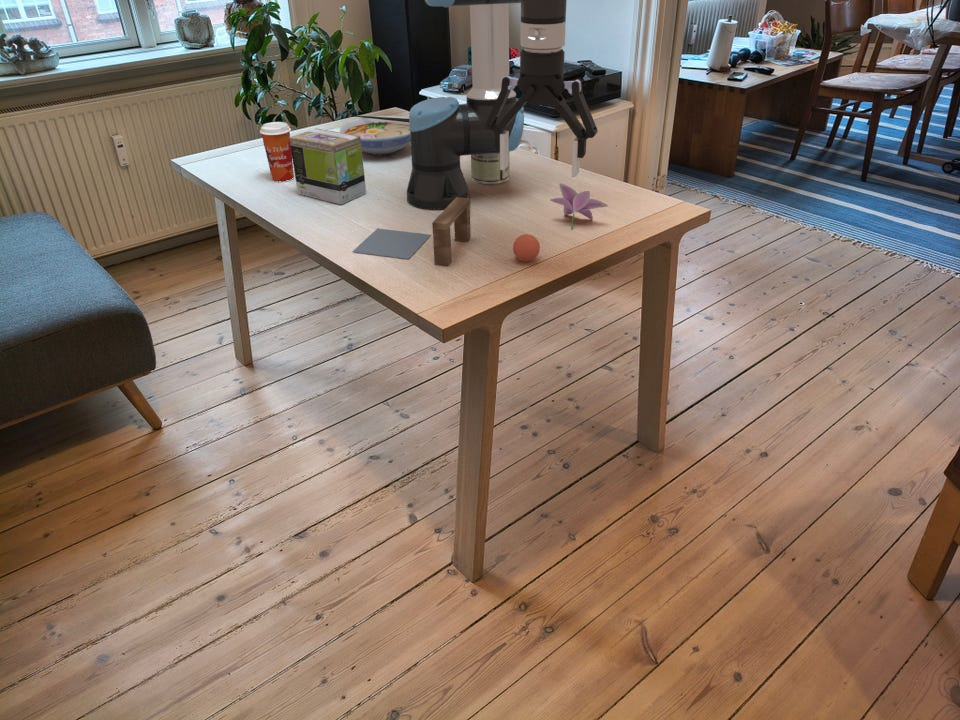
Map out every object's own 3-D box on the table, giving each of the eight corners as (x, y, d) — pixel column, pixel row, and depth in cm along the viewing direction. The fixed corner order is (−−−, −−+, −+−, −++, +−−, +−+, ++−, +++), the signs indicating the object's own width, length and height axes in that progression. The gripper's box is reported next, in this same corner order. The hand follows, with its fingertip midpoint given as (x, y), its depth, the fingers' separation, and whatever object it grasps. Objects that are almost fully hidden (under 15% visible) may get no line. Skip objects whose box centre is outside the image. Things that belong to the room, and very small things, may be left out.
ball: (516, 253, 158) (517, 228, 155) (542, 256, 157) (543, 231, 154) (509, 264, 154) (509, 239, 151) (535, 267, 152) (536, 242, 149)
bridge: (434, 264, 154) (432, 222, 149) (457, 237, 165) (456, 197, 160) (448, 266, 153) (446, 224, 148) (470, 238, 165) (469, 198, 160)
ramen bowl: (323, 159, 213) (319, 130, 209) (364, 136, 231) (361, 109, 226) (401, 168, 205) (399, 138, 200) (437, 145, 222) (436, 117, 218)
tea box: (367, 193, 189) (361, 134, 181) (340, 206, 182) (333, 145, 174) (324, 183, 196) (316, 126, 188) (296, 194, 189) (287, 136, 181)
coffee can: (470, 171, 202) (469, 118, 194) (508, 170, 202) (508, 117, 194) (471, 185, 193) (469, 130, 185) (511, 184, 193) (511, 129, 186)
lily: (611, 233, 169) (615, 190, 168) (577, 226, 161) (581, 181, 160) (570, 234, 178) (574, 193, 177) (536, 228, 170) (540, 185, 169)
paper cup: (265, 183, 196) (256, 130, 189) (271, 174, 203) (262, 121, 195) (295, 183, 197) (287, 129, 189) (300, 173, 203) (292, 120, 195)
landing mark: (377, 229, 170) (377, 228, 170) (431, 235, 166) (431, 234, 166) (352, 252, 160) (352, 251, 159) (408, 259, 156) (408, 258, 156)
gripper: (465, 49, 128) (468, 171, 139) (610, 56, 120) (601, 184, 132) (480, 41, 134) (482, 159, 145) (620, 47, 126) (610, 171, 138)
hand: (539, 171), depth 138 cm, fingers open, 13 cm apart
